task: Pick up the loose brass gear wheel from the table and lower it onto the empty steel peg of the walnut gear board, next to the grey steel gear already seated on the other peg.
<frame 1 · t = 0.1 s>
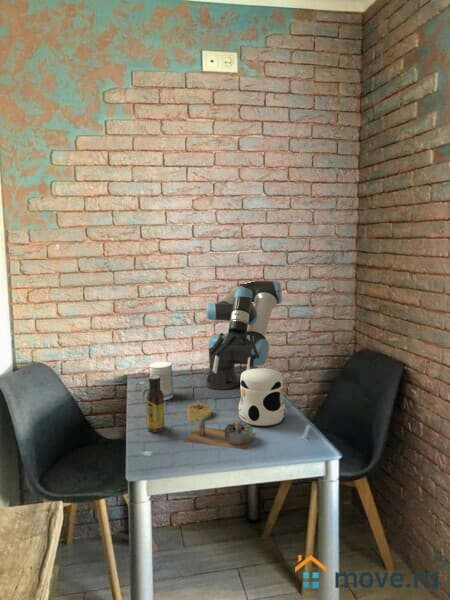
hand: (230, 373, 177), 15 cm above the table, tool tilted 35°, fingers open, 13 cm apart
brass gear: (198, 417, 174), on the table
supplement tub: (162, 397, 196), on the table
gear board: (220, 440, 155), on the table
milk container: (262, 421, 170), on the table
steel gear: (238, 439, 153), point 1 cm above the table, touching gear board
sauce bottle: (156, 430, 164), on the table
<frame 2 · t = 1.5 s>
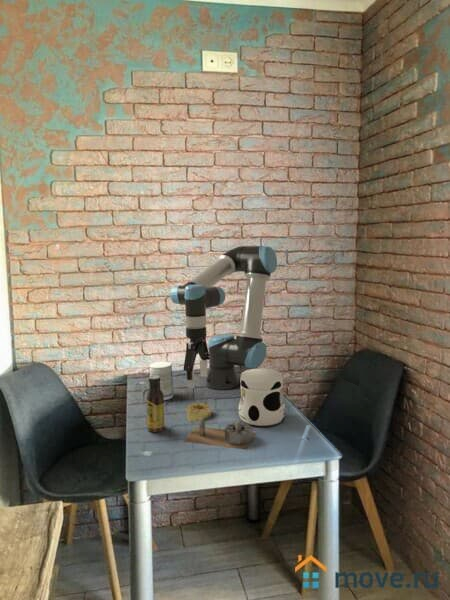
hand: (197, 381, 172), 14 cm above the table, tool pointing down, fingers open, 13 cm apart
nothing on the table moved.
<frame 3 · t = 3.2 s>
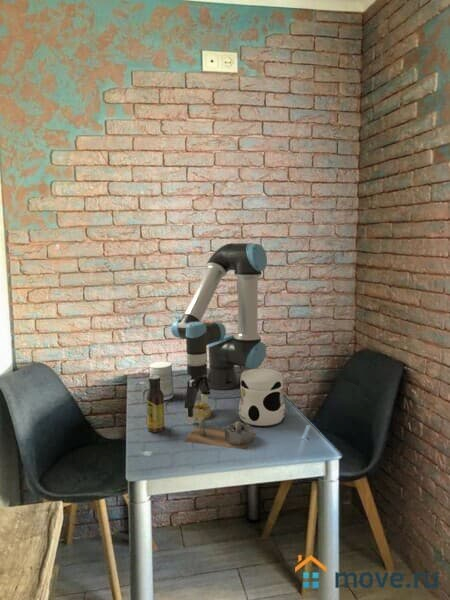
hand: (198, 417, 174), 0 cm above the table, tool pointing down, fingers open, 13 cm apart
nothing on the table moved.
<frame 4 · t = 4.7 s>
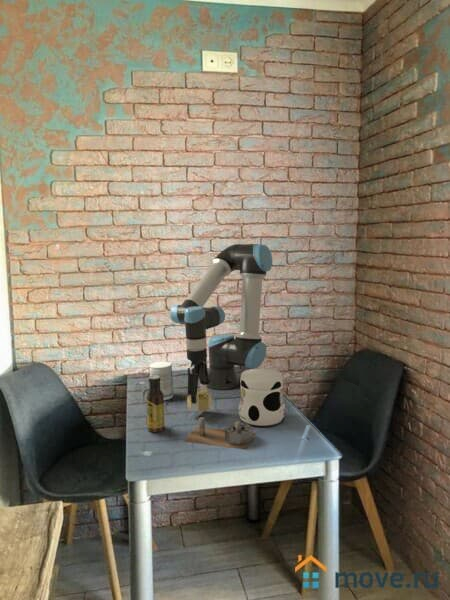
hand: (199, 405, 174), 5 cm above the table, tool pointing down, fingers closed on brass gear, 9 cm apart
brass gear: (199, 406, 174), point 4 cm above the table, touching gripper
everything else where it was.
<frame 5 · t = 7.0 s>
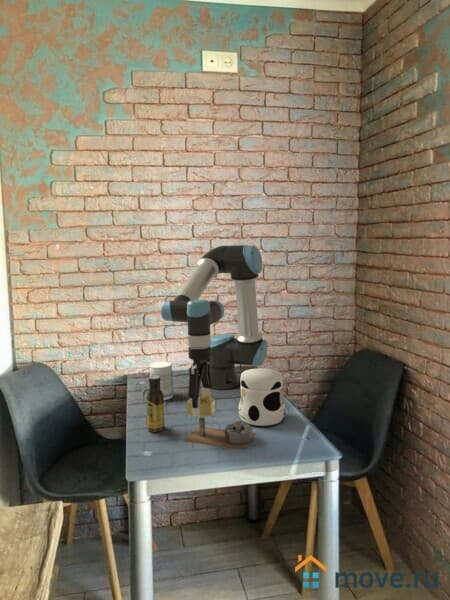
hand: (201, 411, 155), 10 cm above the table, tool pointing down, fingers closed on brass gear, 9 cm apart
brass gear: (201, 411, 155), point 10 cm above the table, touching gripper
everything else where it was.
when the fingers open (2 cm above the table, at t = 9.3 s): brass gear stays where it is, resting on gear board.
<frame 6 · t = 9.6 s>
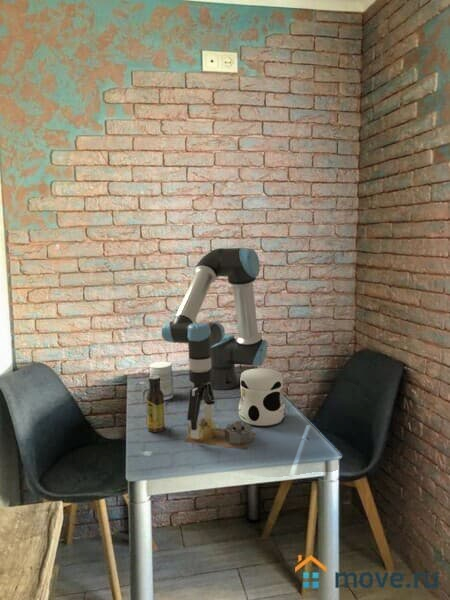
hand: (202, 429, 156), 3 cm above the table, tool pointing down, fingers open, 12 cm apart
brass gear: (202, 435, 157), point 1 cm above the table, touching gear board
everything else where it was.
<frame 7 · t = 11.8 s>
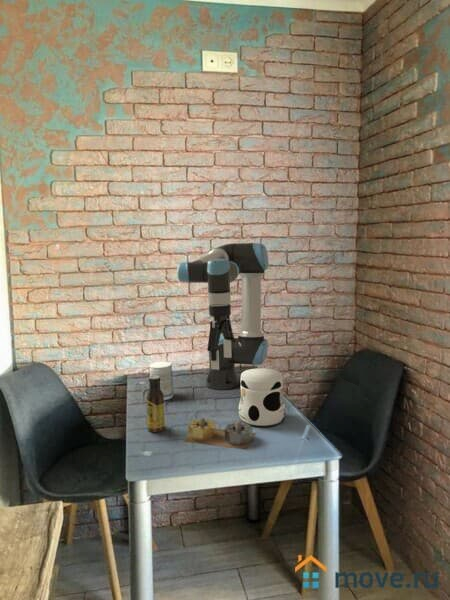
hand: (221, 363, 161), 24 cm above the table, tool pointing down, fingers open, 13 cm apart
nothing on the table moved.
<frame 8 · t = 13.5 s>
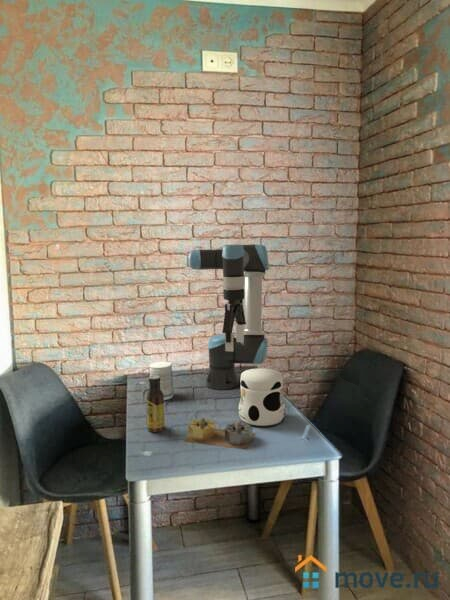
hand: (235, 346, 165), 29 cm above the table, tool pointing down, fingers open, 13 cm apart
nothing on the table moved.
at the end: brass gear 0.1 cm from the target spot on the gear board, point 1.0 cm above the gear board's base; the gripper is holding nothing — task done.
